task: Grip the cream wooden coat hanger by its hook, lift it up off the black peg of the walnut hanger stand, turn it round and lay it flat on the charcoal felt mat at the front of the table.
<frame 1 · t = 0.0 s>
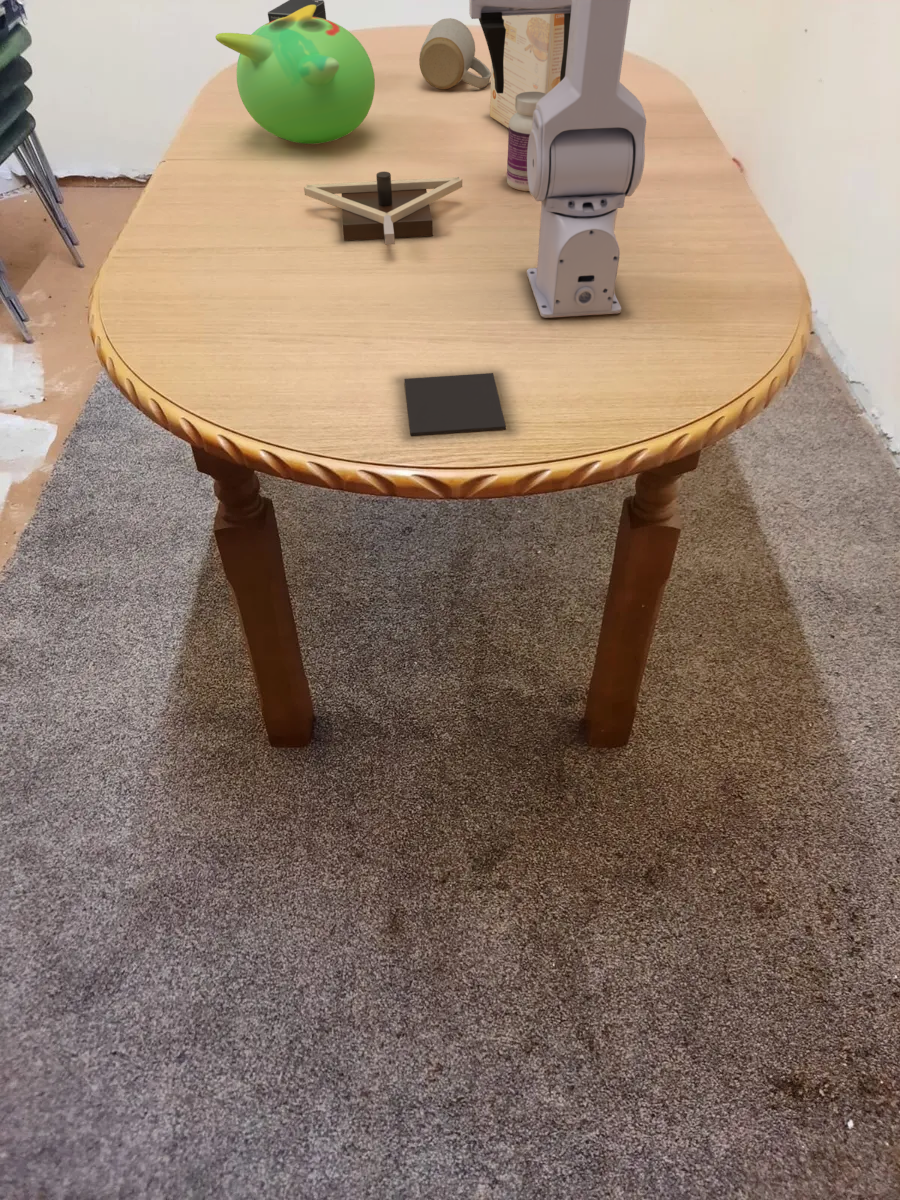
hand: (531, 89, 95), 10 cm above the table, tool pointing down, fingers open, 7 cm apart
hanger: (385, 203, 95), point 2 cm above the table, touching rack
pill bottle: (527, 185, 102), on the table
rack: (386, 219, 96), on the table
box: (307, 89, 127), on the table
coffeecake box: (535, 131, 115), on the table
mat: (453, 404, 71), on the table
ceramic mug: (455, 84, 128), on the table
toy bird: (311, 141, 113), on the table
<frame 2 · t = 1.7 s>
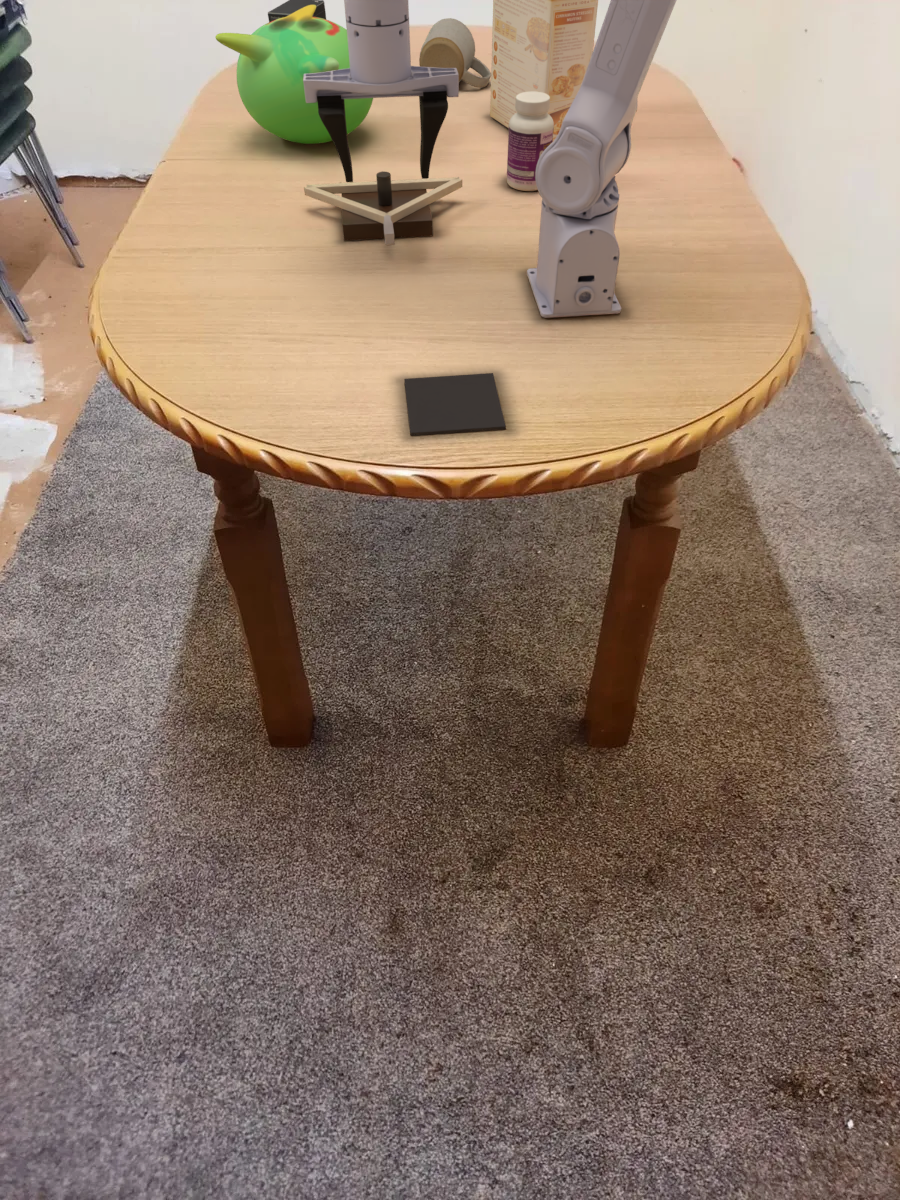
hand: (387, 176, 84), 8 cm above the table, tool pointing down, fingers open, 7 cm apart
nothing on the table moved.
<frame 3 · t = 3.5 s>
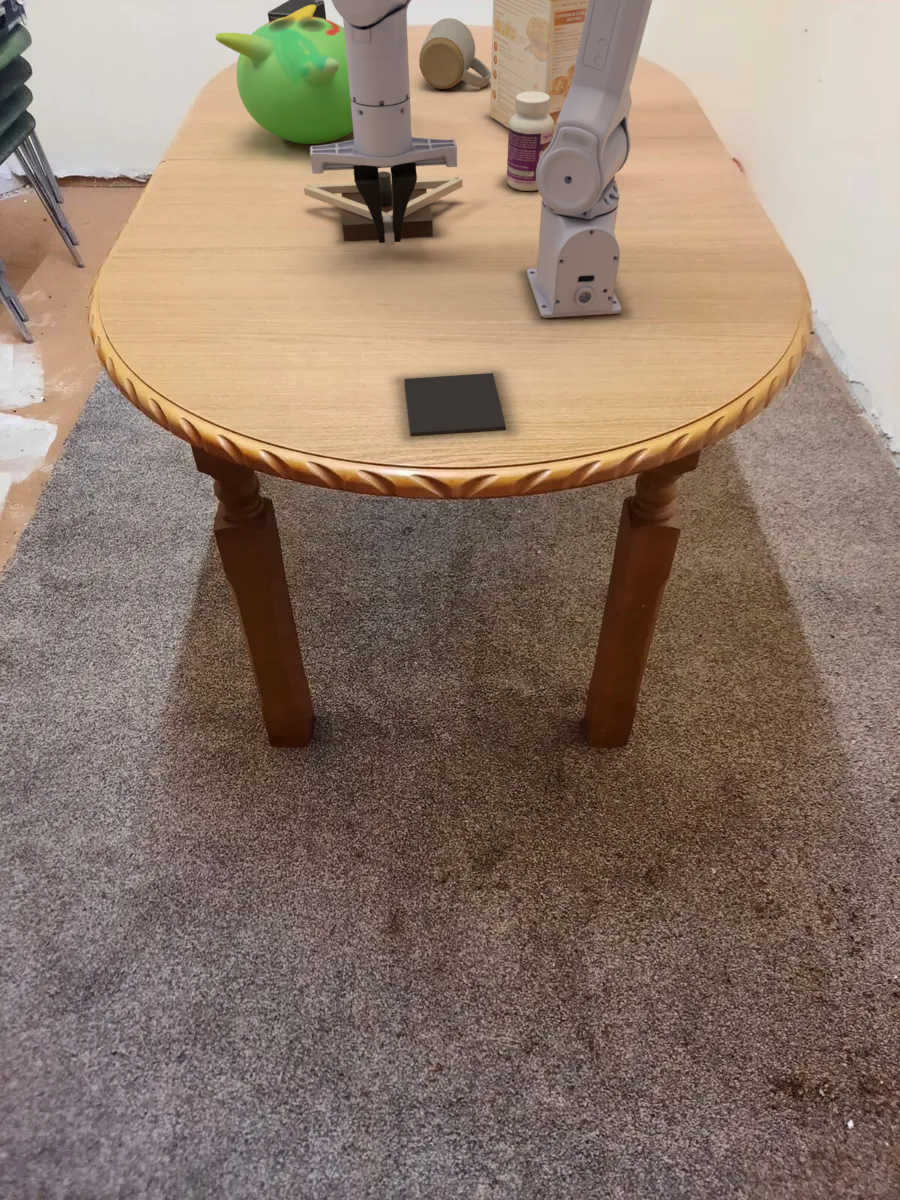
hand: (389, 238, 89), 2 cm above the table, tool pointing down, fingers closed on hanger, 1 cm apart
hanger: (385, 203, 95), point 2 cm above the table, touching gripper
everything else where it was.
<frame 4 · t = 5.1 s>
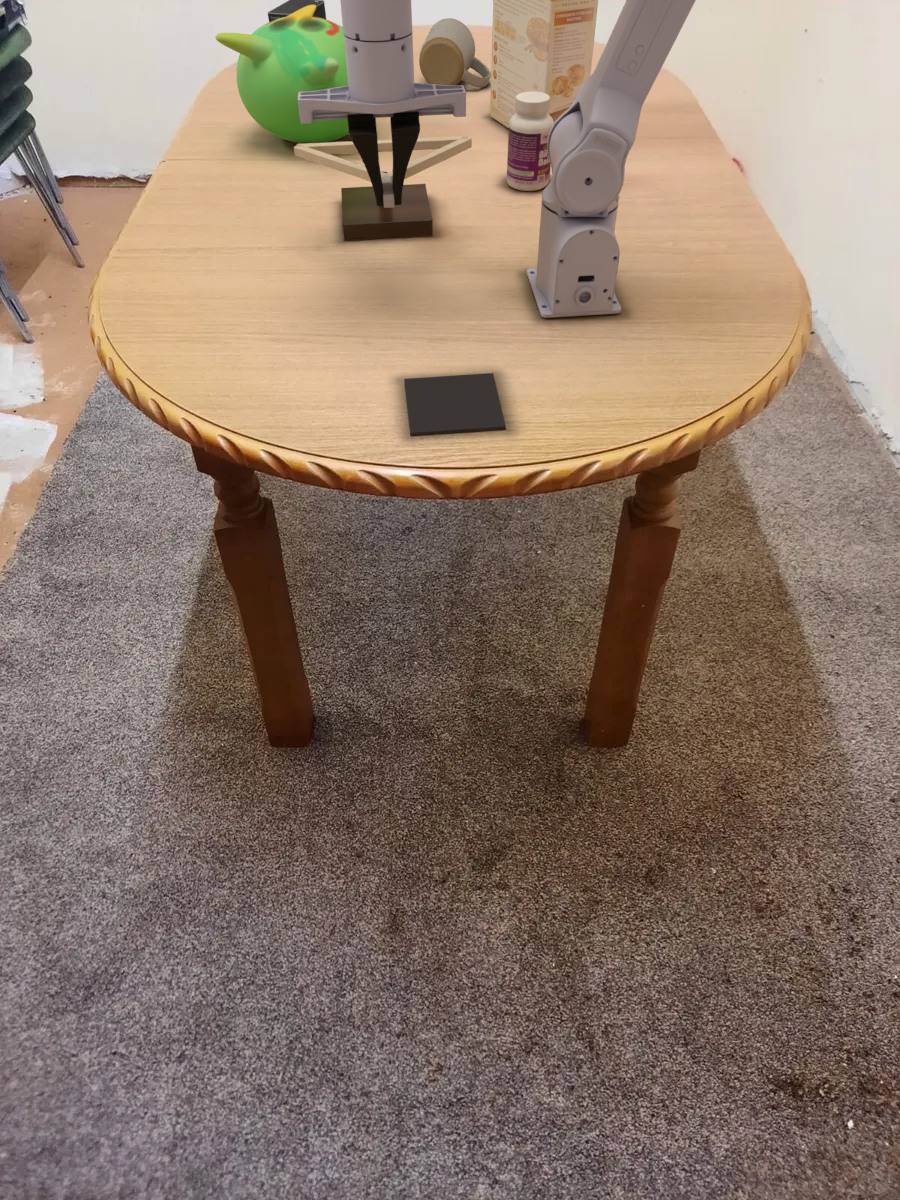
hand: (388, 201, 78), 9 cm above the table, tool pointing down, fingers closed on hanger
hanger: (385, 164, 84), point 9 cm above the table, touching gripper
everything else where it was.
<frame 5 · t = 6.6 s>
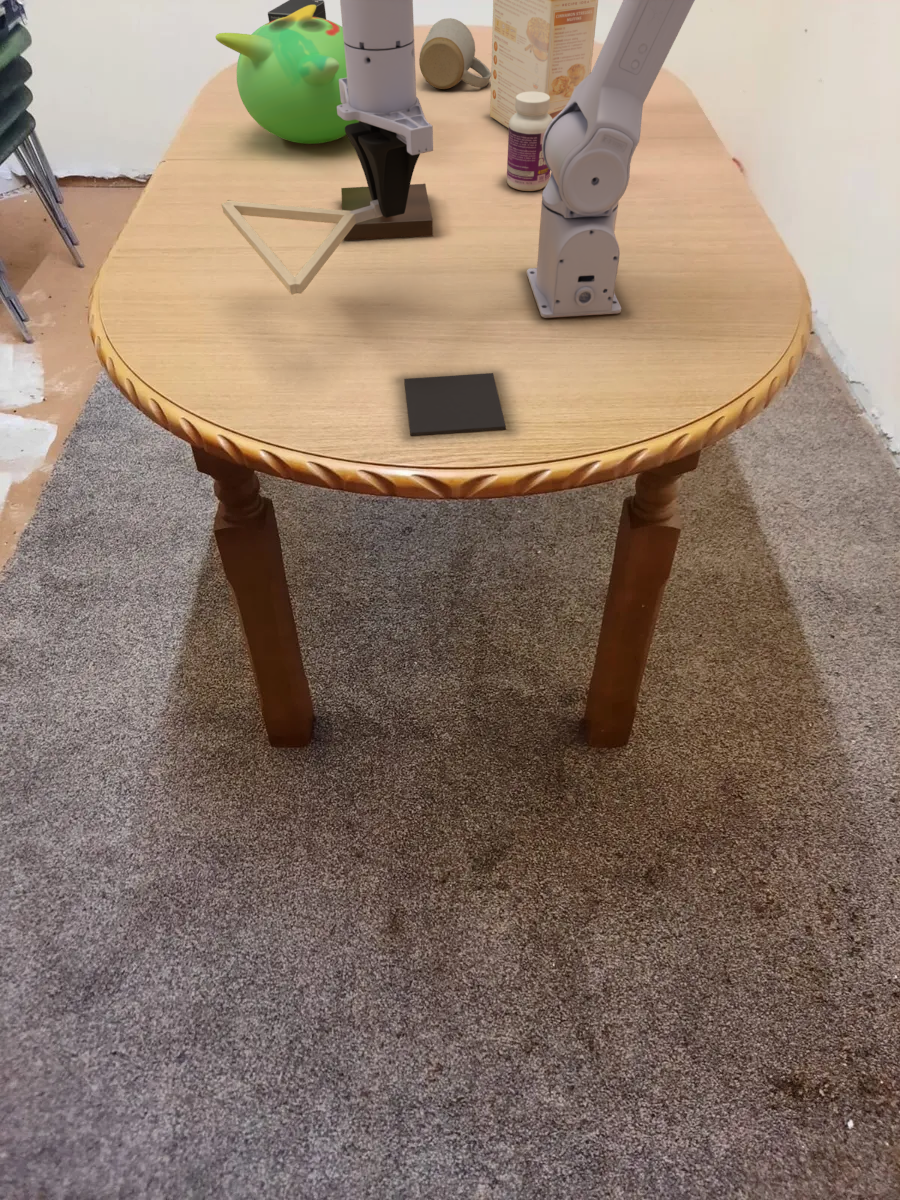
hand: (389, 211, 77), 9 cm above the table, tool pointing down, fingers closed on hanger
hanger: (298, 238, 74), point 8 cm above the table, touching gripper
everything else where it was.
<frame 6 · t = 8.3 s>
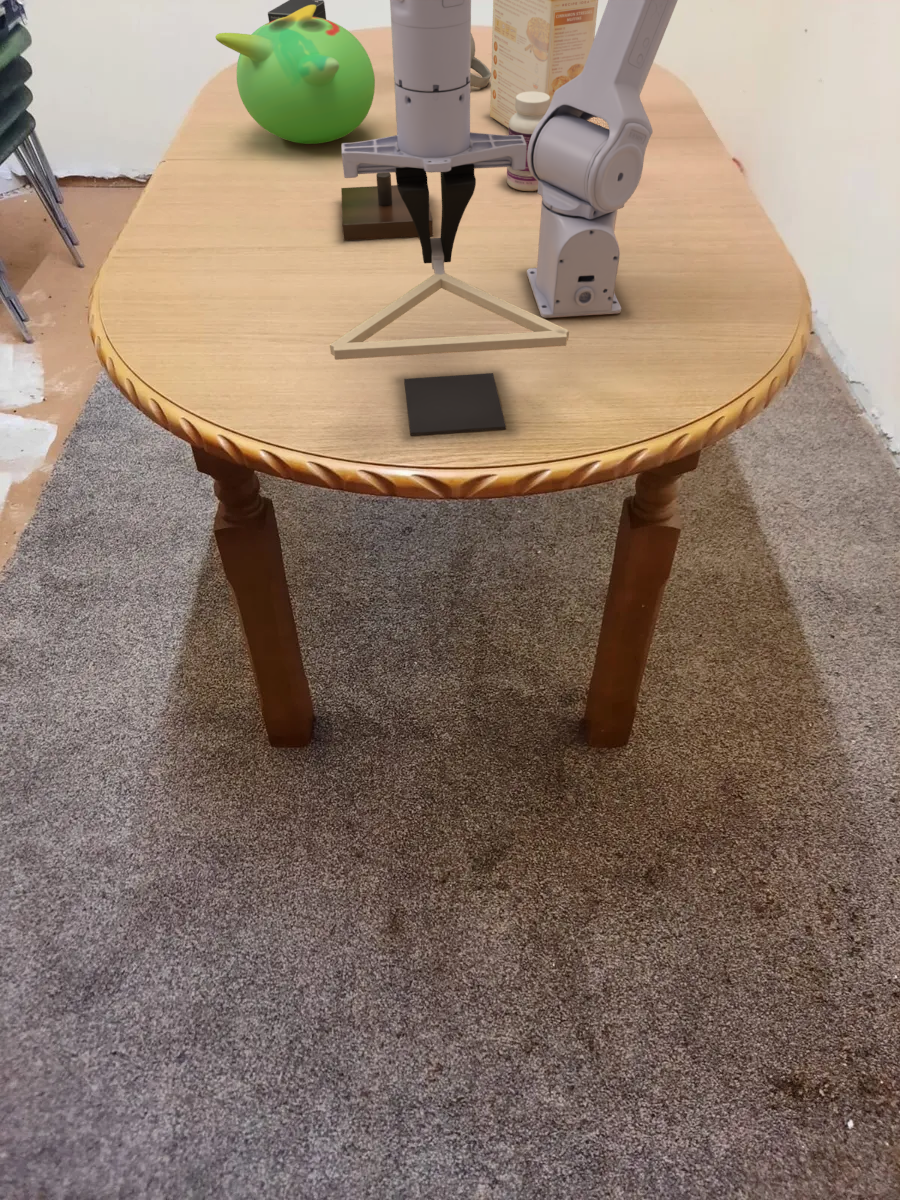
hand: (436, 257, 72), 8 cm above the table, tool pointing down, fingers closed on hanger
hanger: (446, 321, 66), point 8 cm above the table, touching gripper
everything else where it was.
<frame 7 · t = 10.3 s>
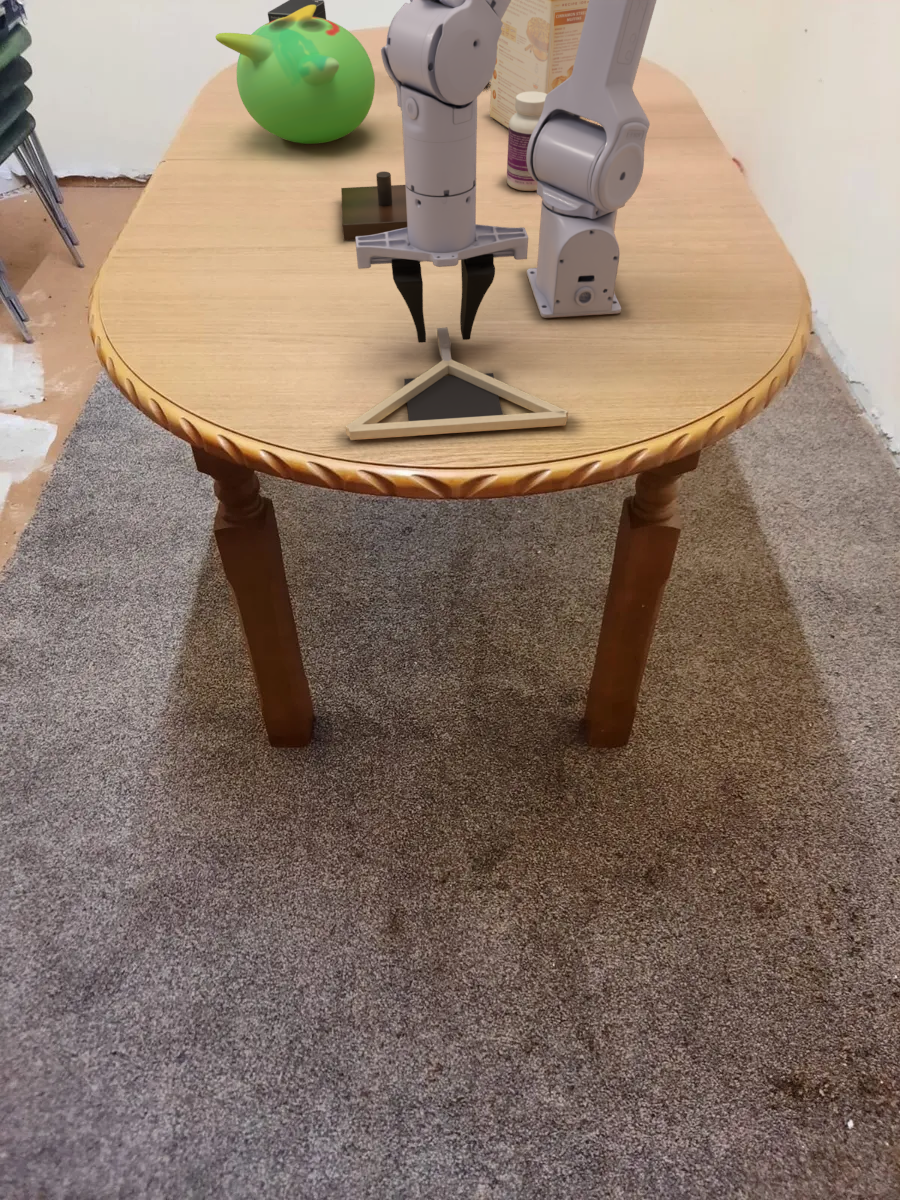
hand: (443, 335, 76), 1 cm above the table, tool pointing down, fingers open, 3 cm apart
hanger: (453, 403, 71), on the table, touching mat
everything else where it was.
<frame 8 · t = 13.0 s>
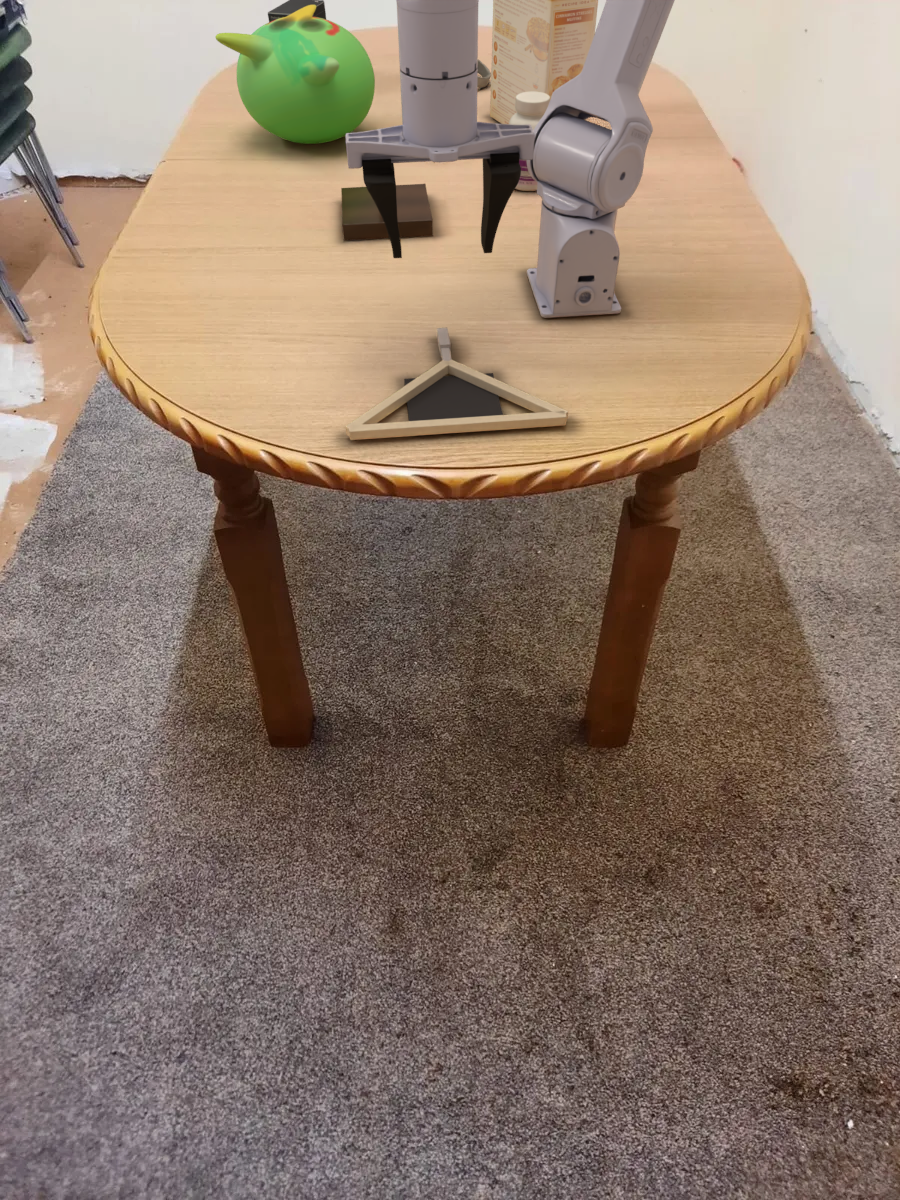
hand: (441, 250, 70), 9 cm above the table, tool pointing down, fingers open, 7 cm apart
nothing on the table moved.
at the end: hanger inside the target area on the mat (0.3 cm from its centre), point 0.3 cm above the mat's base; hanger tilted 0°; the gripper is holding nothing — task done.
